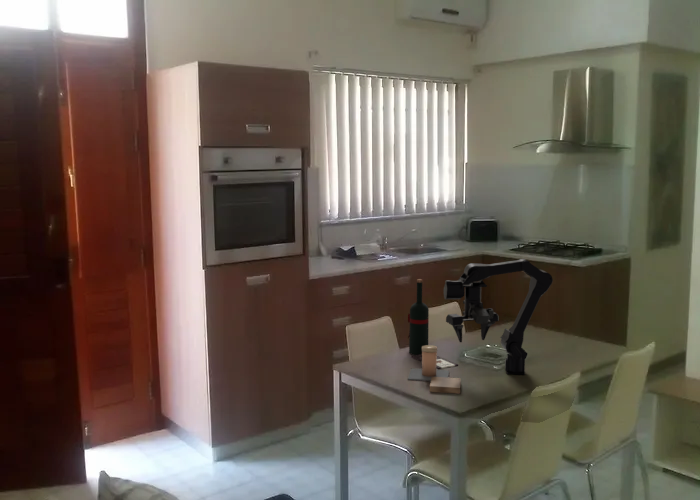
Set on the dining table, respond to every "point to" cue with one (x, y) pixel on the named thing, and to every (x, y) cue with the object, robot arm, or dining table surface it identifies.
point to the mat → (417, 375)
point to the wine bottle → (418, 323)
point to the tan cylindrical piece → (429, 360)
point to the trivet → (445, 385)
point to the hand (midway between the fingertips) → (471, 341)
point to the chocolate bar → (438, 362)
